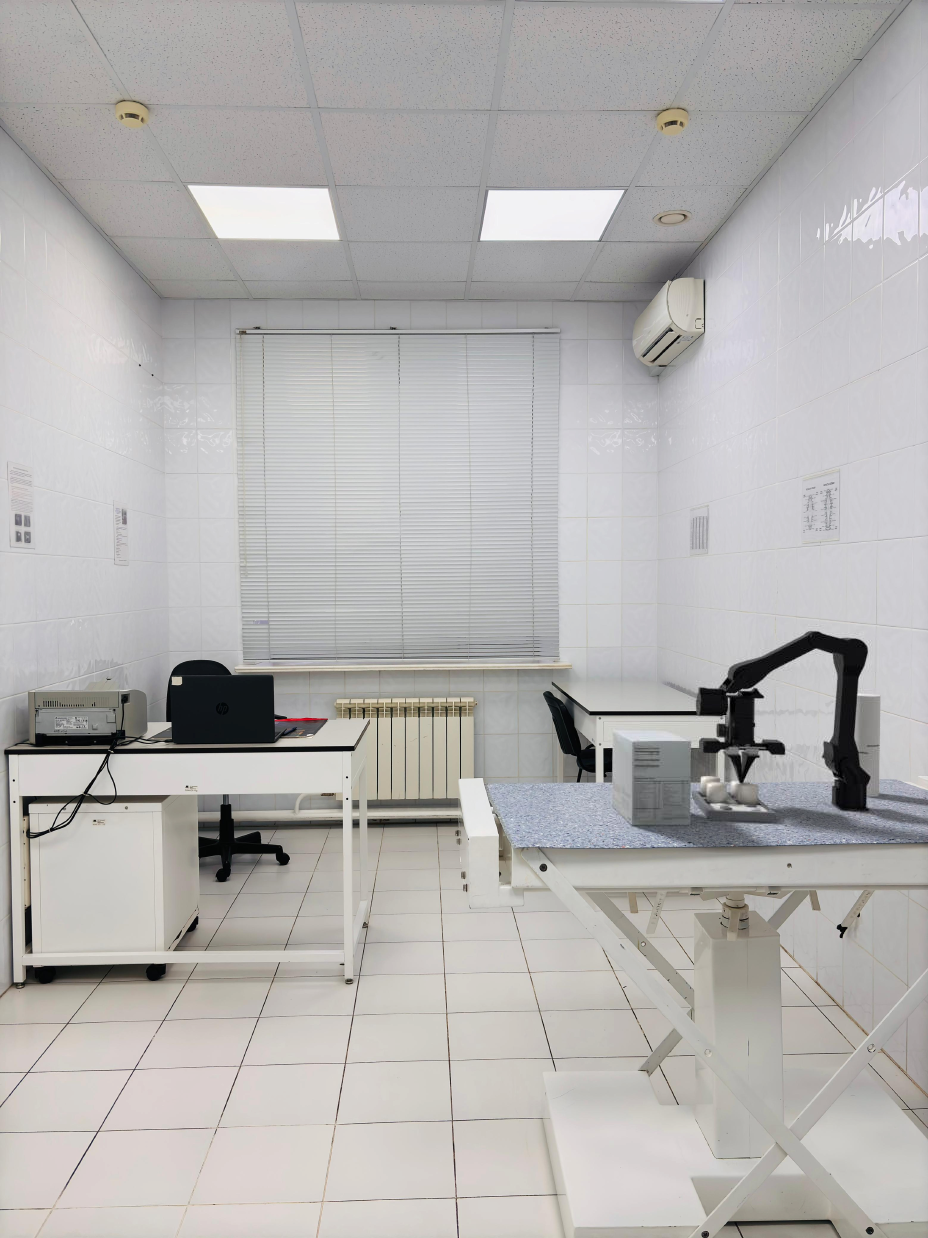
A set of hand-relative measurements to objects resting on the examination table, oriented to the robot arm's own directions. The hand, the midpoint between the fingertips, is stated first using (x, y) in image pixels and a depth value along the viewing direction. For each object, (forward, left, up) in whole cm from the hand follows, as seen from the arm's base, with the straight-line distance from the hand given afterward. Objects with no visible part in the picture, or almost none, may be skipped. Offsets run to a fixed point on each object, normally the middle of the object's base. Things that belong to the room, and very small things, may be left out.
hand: (740, 782), depth 192 cm
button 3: (0, 0, -4) cm, 4 cm away
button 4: (0, +7, -3) cm, 8 cm away
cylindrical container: (-34, -16, -5) cm, 38 cm away
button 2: (+7, +7, -3) cm, 10 cm away
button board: (+3, +6, -5) cm, 9 cm away
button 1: (+7, 0, -3) cm, 8 cm away
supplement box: (+23, +14, -5) cm, 28 cm away
